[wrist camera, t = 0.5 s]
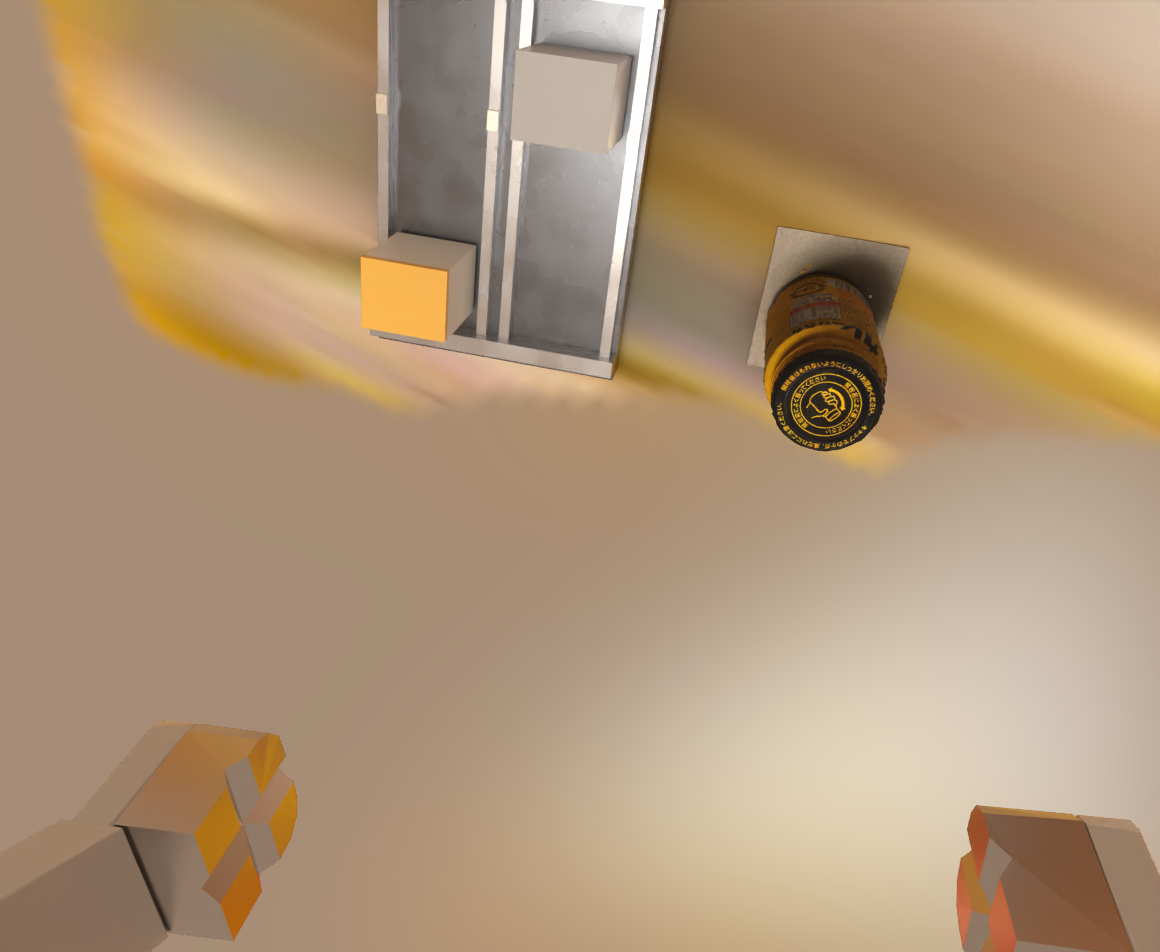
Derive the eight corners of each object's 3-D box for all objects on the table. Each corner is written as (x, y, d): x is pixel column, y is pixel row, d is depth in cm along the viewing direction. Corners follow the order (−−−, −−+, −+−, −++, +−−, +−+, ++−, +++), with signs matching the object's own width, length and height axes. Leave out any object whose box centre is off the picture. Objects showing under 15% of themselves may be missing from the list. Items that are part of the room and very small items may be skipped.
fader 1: (397, 231, 52) (360, 256, 47) (476, 245, 52) (447, 271, 47) (397, 297, 54) (361, 327, 49) (473, 310, 54) (444, 342, 49)
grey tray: (392, -68, 47) (366, -71, 44) (675, -31, 45) (668, -32, 42) (390, 326, 58) (370, 345, 55) (617, 367, 56) (608, 389, 53)
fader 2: (540, 42, 46) (516, 49, 41) (632, 56, 45) (617, 64, 41) (533, 125, 48) (510, 139, 43) (621, 138, 47) (606, 154, 43)
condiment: (746, 363, 54) (740, 453, 44) (778, 225, 50) (779, 290, 40) (866, 385, 54) (888, 482, 43) (909, 246, 49) (944, 318, 39)
